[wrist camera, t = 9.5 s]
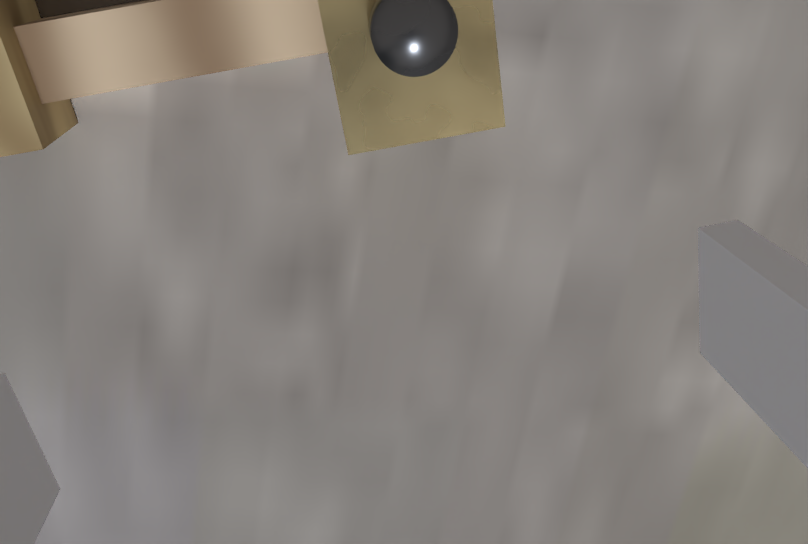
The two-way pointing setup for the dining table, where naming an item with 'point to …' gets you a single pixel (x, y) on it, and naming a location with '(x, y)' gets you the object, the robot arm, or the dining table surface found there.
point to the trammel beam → (133, 53)
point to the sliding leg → (412, 69)
